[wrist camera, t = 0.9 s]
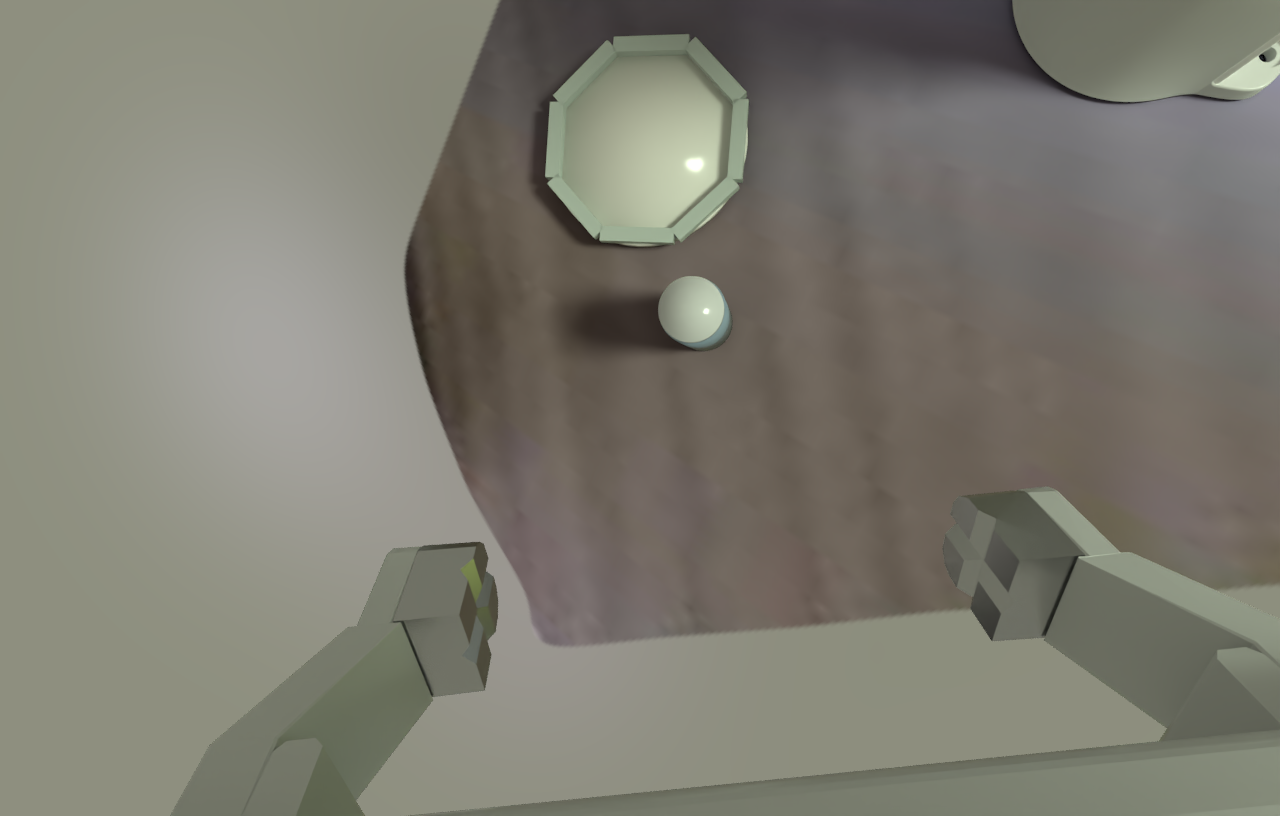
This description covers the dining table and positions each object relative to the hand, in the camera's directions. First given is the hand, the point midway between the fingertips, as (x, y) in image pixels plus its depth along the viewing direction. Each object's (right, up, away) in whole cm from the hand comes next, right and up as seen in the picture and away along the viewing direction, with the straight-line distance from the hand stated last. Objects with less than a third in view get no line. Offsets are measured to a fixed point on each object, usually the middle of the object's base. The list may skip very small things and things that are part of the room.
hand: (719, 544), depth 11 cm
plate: (-1, +21, +33) cm, 39 cm away
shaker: (+3, +8, +32) cm, 34 cm away
